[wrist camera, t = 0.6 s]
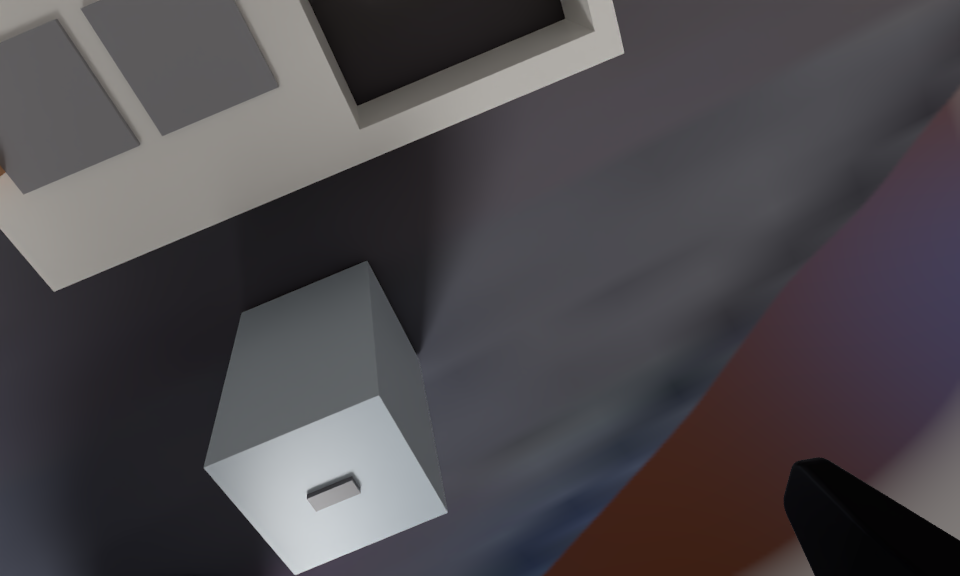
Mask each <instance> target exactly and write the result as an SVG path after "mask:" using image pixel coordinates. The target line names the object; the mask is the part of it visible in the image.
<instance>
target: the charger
mask: <svg viewBox="0 0 960 576" xmlns="http://www.w3.org/2000/svg"><path fill="white" fill-rule="evenodd" d="M204 469H205V470H206V471H207V472H208V474H209V475H210V476H211V477H212V478H213V480H214V481H215V482H216V483H217V484H218V485H219V487H220V488H221V489H222V490H223V491H224V492H225V494H226V495H227V496H228V497H229V498H230V499H231V501H232V502H233V503H234V504H235V505H236V507H237V508H238V509H239V510H240V511H241V512H242V514H243V515H244V516H245V517H246V518H247V519H248V521H249V522H250V523H251V524H252V525H253V527H254V528H255V529H256V530H257V531H258V532H259V534H260V535H261V536H262V537H263V538H264V539H265V541H266V542H267V543H268V544H269V545H270V547H271V548H272V549H273V550H274V551H275V552H276V554H277V555H278V556H279V557H280V558H281V559H282V561H283V562H284V563H285V564H286V565H287V566H288V568H289V569H290V570H291V571H292V572H293V574H294V575H297V574H299V573H302V572H304V571H306V570H309V569H311V568H314V567H316V566H319V565H321V564H323V563H326V562H328V561H331V560H333V559H336V558H338V557H341V556H343V555H345V554H348V553H350V552H353V551H355V550H358V549H360V548H362V547H365V546H367V545H370V544H372V543H375V542H377V541H380V540H382V539H384V538H387V537H389V536H392V535H394V534H397V533H399V532H401V531H404V530H406V529H409V528H411V527H414V526H416V525H419V524H421V523H423V522H426V521H428V520H431V519H433V518H436V517H438V516H440V515H443V514H445V513H448V511H447V505H446V500H445V495H444V489H443V484H442V478H441V473H440V468H439V462H438V457H437V452H436V446H435V441H434V436H433V430H432V425H431V420H430V414H429V409H428V403H427V398H426V393H425V387H424V382H423V377H422V371H421V366H420V361H419V359H418V357H417V355H416V353H415V351H414V349H413V347H412V345H411V343H410V341H409V340H408V338H407V336H406V334H405V332H404V330H403V328H402V326H401V324H400V322H399V320H398V318H397V317H396V315H395V313H394V311H393V309H392V307H391V305H390V303H389V301H388V299H387V297H386V295H385V294H384V292H383V290H382V288H381V286H380V284H379V282H378V280H377V278H376V276H375V274H374V272H373V271H372V269H371V267H370V265H369V263H368V261H365V262H362V263H360V264H358V265H355V266H353V267H350V268H348V269H346V270H343V271H341V272H338V273H336V274H334V275H331V276H329V277H326V278H324V279H322V280H319V281H317V282H314V283H312V284H310V285H307V286H305V287H302V288H300V289H298V290H295V291H293V292H290V293H288V294H285V295H283V296H281V297H278V298H276V299H273V300H271V301H269V302H266V303H264V304H261V305H259V306H257V307H254V308H252V309H249V310H247V311H245V312H242V313H241V317H240V322H239V326H238V330H237V334H236V338H235V342H234V346H233V350H232V354H231V358H230V362H229V366H228V370H227V374H226V378H225V382H224V386H223V390H222V395H221V399H220V403H219V407H218V411H217V415H216V419H215V423H214V427H213V431H212V435H211V439H210V443H209V447H208V451H207V455H206V459H205V464H204Z"/></svg>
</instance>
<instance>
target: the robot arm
mask: <svg viewBox="0 0 960 576" xmlns="http://www.w3.org/2000/svg"><path fill="white" fill-rule="evenodd" d="M784 507H785V511H786V514H787V516H788V518H789V521H790V523H791V525H792V527H793V529H794V531H795V534H796V536H797V538H798V540H799V542H800V544H801V547H802V549H803V551H804V553H805V555H806V557H807V560H808V562H809V564H810V566H811V568H812V570H813V573H814V575H815V576H960V540H958V539H956V538H955V537H953V536H951V535H950V534H948V533H946V532H945V531H943V530H942V529H940V528H938V527H936V526H935V525H933V524H932V523H930V522H929V521H927V520H925V519H924V518H922V517H920V516H919V515H917V514H916V513H914V512H912V511H910V510H909V509H907V508H906V507H904V506H902V505H901V504H899V503H897V502H896V501H894V500H893V499H891V498H889V497H888V496H886V495H884V494H883V493H881V492H879V491H878V490H876V489H875V488H873V487H871V486H869V485H868V484H866V483H865V482H863V481H862V480H860V479H858V478H857V477H855V476H853V475H852V474H850V473H849V472H847V471H845V470H844V469H842V468H840V467H839V466H837V465H835V464H834V463H832V462H831V461H829V460H827V459H824V458H812V459H807V460H801V461H797V462H796V463H794V465H793V466H792V469H791V472H790V476H789V480H788V484H787V487H786V491H785V495H784Z"/></svg>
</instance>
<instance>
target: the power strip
mask: <svg viewBox="0 0 960 576" xmlns="http://www.w3.org/2000/svg"><path fill="white" fill-rule="evenodd" d="M560 1H561V5H562V8H563V12H564V16H565V19H563V20H561V21H559V22H556V23H554V24H551V25H549V26H547V27H544V28H542V29H540V30H537V31H535V32H532V33H530V34H528V35H525V36H523V37H520V38H518V39H516V40H513V41H511V42H509V43H506V44H504V45H501V46H499V47H497V48H494V49H492V50H490V51H487V52H485V53H482V54H480V55H478V56H475V57H473V58H470V59H468V60H466V61H463V62H461V63H459V64H456V65H454V66H451V67H449V68H447V69H444V70H442V71H439V72H437V73H435V74H432V75H430V76H428V77H425V78H423V79H420V80H418V81H416V82H413V83H411V84H409V85H406V86H404V87H401V88H399V89H397V90H394V91H392V92H389V93H387V94H385V95H382V96H380V97H378V98H375V99H373V100H370V101H368V102H366V103H363V104H361V105H358V106H357V105H356V102H355V100H354V98H353V96H352V94H351V92H350V89H349V87H348V85H347V83H346V81H345V79H344V76H343V74H342V72H341V70H340V68H339V66H338V63H337V61H336V59H335V57H334V55H333V53H332V50H331V48H330V46H329V44H328V42H327V40H326V37H325V35H324V33H323V31H322V29H321V27H320V24H319V22H318V20H317V18H316V16H315V14H314V11H313V9H312V7H311V5H310V3H309V1H308V0H0V229H1V230H2V231H3V233H4V234H5V235H6V236H7V237H8V238H9V240H10V241H11V242H12V243H13V244H14V246H15V247H16V248H17V249H18V250H19V251H20V253H21V254H22V255H23V256H24V257H25V258H26V260H27V261H28V262H29V263H30V264H31V265H32V267H33V268H34V269H35V270H36V271H37V273H38V274H39V275H40V276H41V277H42V278H43V280H44V281H45V282H46V283H47V284H48V285H49V287H50V288H51V289H52V290H53V291H54V292H55V291H57V290H60V289H62V288H64V287H67V286H69V285H71V284H74V283H76V282H79V281H81V280H83V279H86V278H88V277H91V276H93V275H95V274H98V273H100V272H103V271H105V270H107V269H110V268H112V267H114V266H117V265H119V264H122V263H124V262H126V261H129V260H131V259H134V258H136V257H138V256H141V255H143V254H146V253H148V252H150V251H153V250H155V249H157V248H160V247H162V246H165V245H167V244H169V243H172V242H174V241H177V240H179V239H181V238H184V237H186V236H189V235H191V234H193V233H196V232H198V231H200V230H203V229H205V228H208V227H210V226H212V225H215V224H217V223H220V222H222V221H224V220H227V219H229V218H232V217H234V216H236V215H239V214H241V213H243V212H246V211H248V210H251V209H253V208H255V207H258V206H260V205H263V204H265V203H267V202H270V201H272V200H275V199H277V198H279V197H282V196H284V195H287V194H289V193H291V192H294V191H296V190H298V189H301V188H303V187H306V186H308V185H310V184H313V183H315V182H318V181H320V180H322V179H325V178H327V177H330V176H332V175H334V174H337V173H339V172H341V171H344V170H346V169H349V168H351V167H353V166H356V165H358V164H361V163H363V162H365V161H368V160H370V159H373V158H375V157H377V156H380V155H382V154H384V153H387V152H389V151H392V150H394V149H396V148H399V147H401V146H404V145H406V144H408V143H411V142H413V141H416V140H418V139H420V138H423V137H425V136H427V135H430V134H432V133H435V132H437V131H439V130H442V129H444V128H447V127H449V126H451V125H454V124H456V123H459V122H461V121H463V120H466V119H468V118H470V117H473V116H475V115H478V114H480V113H482V112H485V111H487V110H490V109H492V108H494V107H497V106H499V105H502V104H504V103H506V102H509V101H511V100H513V99H516V98H518V97H521V96H523V95H525V94H528V93H530V92H533V91H535V90H537V89H540V88H542V87H545V86H547V85H549V84H552V83H554V82H557V81H559V80H561V79H564V78H566V77H568V76H571V75H573V74H576V73H578V72H580V71H583V70H585V69H588V68H590V67H592V66H595V65H597V64H600V63H602V62H604V61H607V60H609V59H611V58H614V57H616V56H619V55H621V54H623V53H624V50H623V45H622V41H621V36H620V32H619V27H618V23H617V19H616V14H615V10H614V5H613V1H612V0H560Z"/></svg>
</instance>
